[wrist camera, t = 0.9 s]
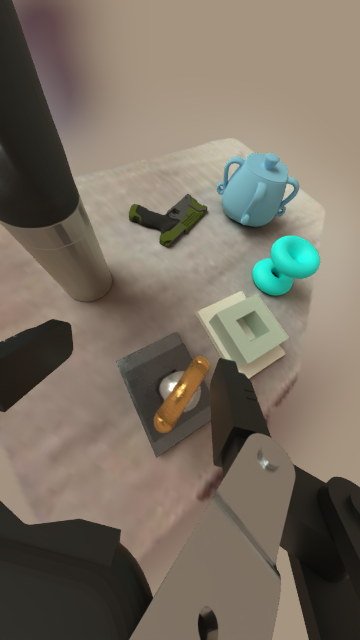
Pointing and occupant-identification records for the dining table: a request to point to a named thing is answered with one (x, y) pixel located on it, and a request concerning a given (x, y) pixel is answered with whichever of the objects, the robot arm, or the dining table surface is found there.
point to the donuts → (286, 265)
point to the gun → (170, 219)
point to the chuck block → (142, 384)
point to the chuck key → (180, 393)
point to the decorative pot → (256, 189)
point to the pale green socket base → (244, 332)
